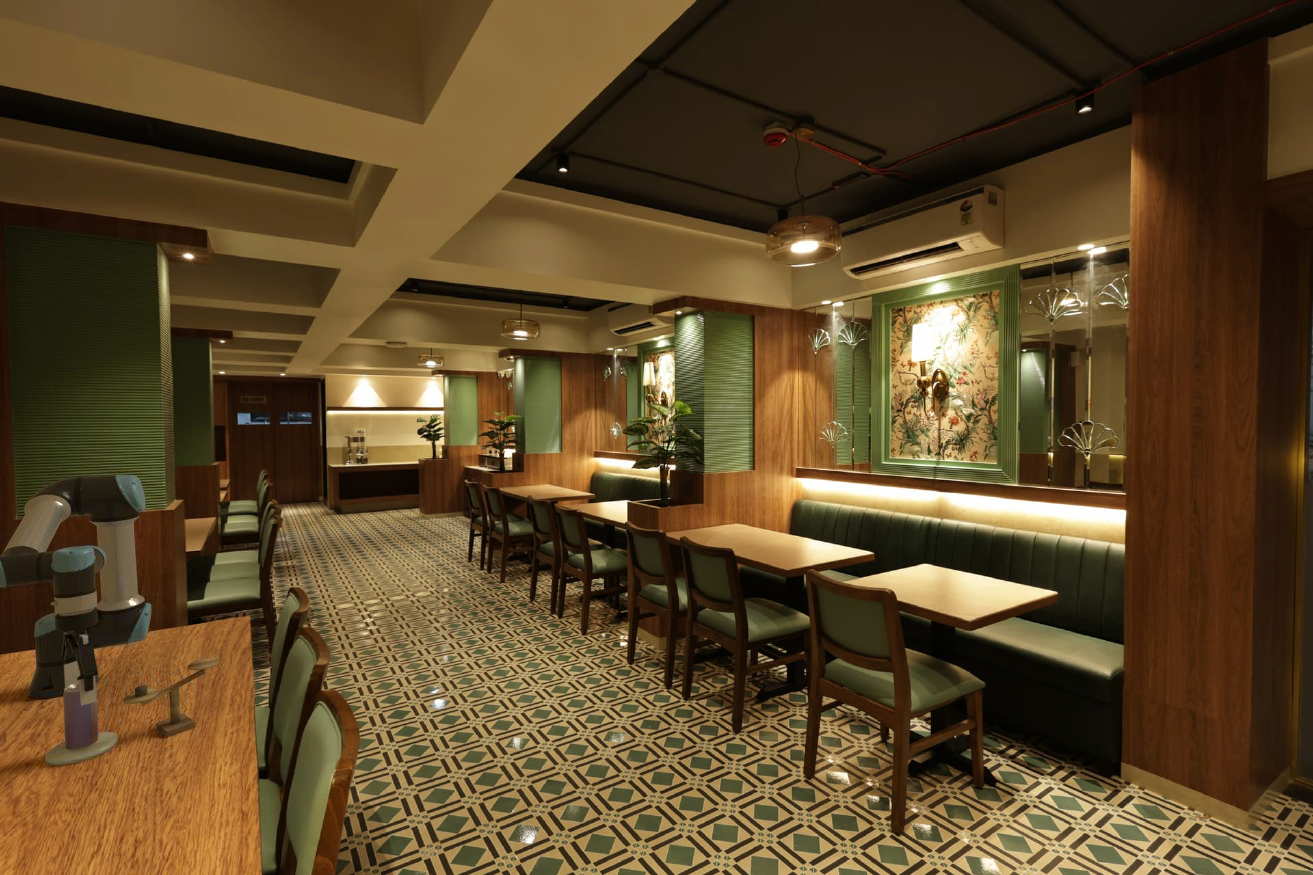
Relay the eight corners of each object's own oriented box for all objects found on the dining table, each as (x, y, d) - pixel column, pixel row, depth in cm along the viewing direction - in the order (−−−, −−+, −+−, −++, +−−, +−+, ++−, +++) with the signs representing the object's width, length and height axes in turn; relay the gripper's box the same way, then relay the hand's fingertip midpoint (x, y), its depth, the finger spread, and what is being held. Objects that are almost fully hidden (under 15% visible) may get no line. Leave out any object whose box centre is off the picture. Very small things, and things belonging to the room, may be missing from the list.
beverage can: (78, 753, 146) (75, 692, 146) (58, 750, 147) (56, 690, 147) (105, 740, 152) (102, 681, 152) (86, 737, 153) (83, 679, 153)
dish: (39, 754, 148) (38, 749, 148) (108, 731, 159) (108, 726, 159) (52, 771, 141) (52, 766, 141) (125, 746, 151) (124, 741, 151)
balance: (120, 740, 154) (117, 682, 154) (214, 707, 171) (212, 655, 170) (130, 750, 150) (128, 690, 149) (226, 715, 167) (224, 661, 166)
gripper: (42, 605, 152) (46, 687, 153) (69, 625, 138) (73, 716, 139) (82, 597, 159) (86, 676, 160) (112, 616, 144) (116, 703, 146)
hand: (80, 695), depth 150 cm, fingers open, 13 cm apart
